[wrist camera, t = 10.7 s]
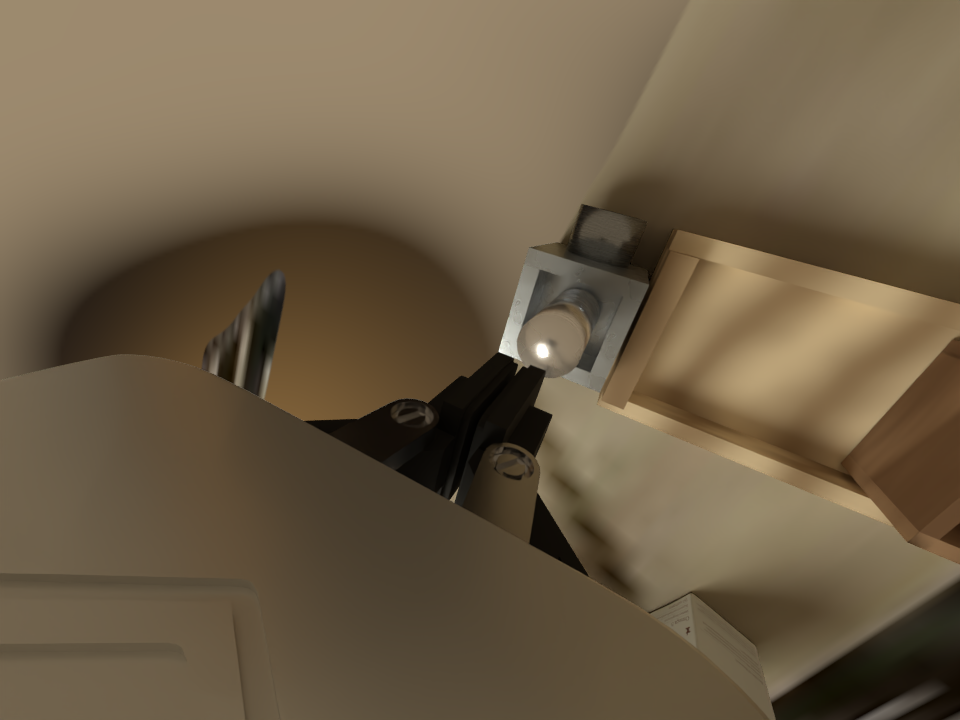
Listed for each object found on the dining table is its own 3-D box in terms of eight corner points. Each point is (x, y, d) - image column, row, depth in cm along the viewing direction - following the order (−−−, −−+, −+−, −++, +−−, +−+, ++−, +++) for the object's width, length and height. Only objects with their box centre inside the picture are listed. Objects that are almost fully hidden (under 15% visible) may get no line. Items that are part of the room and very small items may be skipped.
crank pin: (607, 297, 23) (592, 328, 16) (589, 341, 24) (569, 387, 18) (559, 282, 24) (526, 306, 17) (545, 326, 25) (509, 364, 18)
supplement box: (690, 588, 33) (715, 765, 22) (758, 645, 32) (817, 857, 22) (633, 616, 37) (630, 779, 26) (693, 668, 36) (715, 858, 25)
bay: (1268, 386, 17) (1487, 442, 13) (1027, 555, 23) (1121, 636, 18) (673, 229, 25) (680, 229, 20) (601, 386, 30) (594, 414, 26)
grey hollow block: (665, 227, 25) (675, 227, 18) (609, 353, 29) (599, 392, 22) (569, 201, 27) (545, 193, 20) (530, 323, 31) (498, 351, 24)
